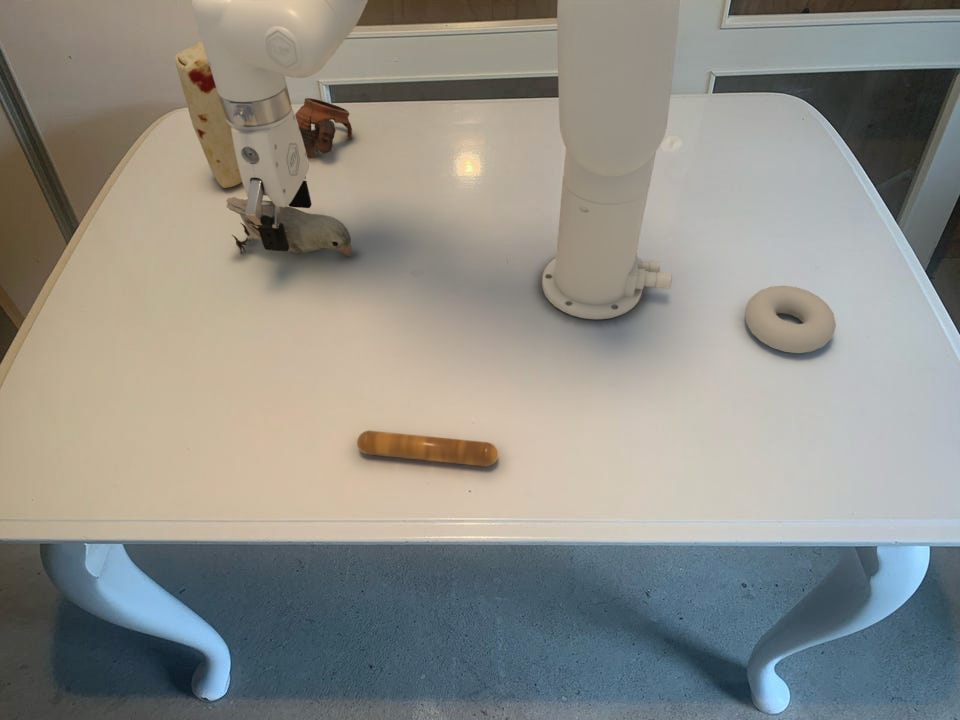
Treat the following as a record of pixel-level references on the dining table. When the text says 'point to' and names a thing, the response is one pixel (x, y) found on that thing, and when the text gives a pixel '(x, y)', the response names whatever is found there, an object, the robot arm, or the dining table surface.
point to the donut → (783, 333)
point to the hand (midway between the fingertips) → (289, 227)
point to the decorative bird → (298, 229)
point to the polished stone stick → (427, 448)
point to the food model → (208, 114)
